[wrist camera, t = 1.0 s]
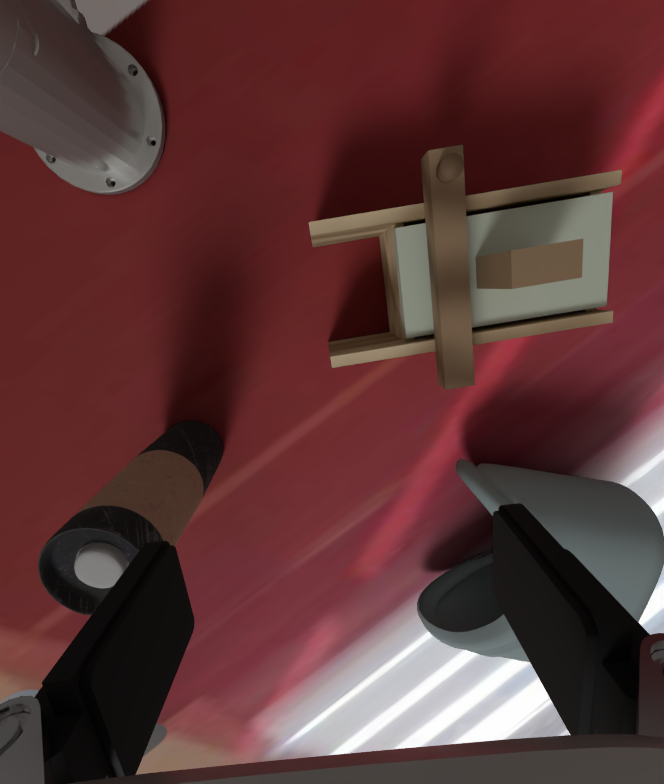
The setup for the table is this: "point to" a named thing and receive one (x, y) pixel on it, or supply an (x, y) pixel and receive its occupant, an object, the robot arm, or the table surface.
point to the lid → (516, 263)
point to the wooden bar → (448, 264)
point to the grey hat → (572, 531)
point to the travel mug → (130, 516)
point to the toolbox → (414, 214)
